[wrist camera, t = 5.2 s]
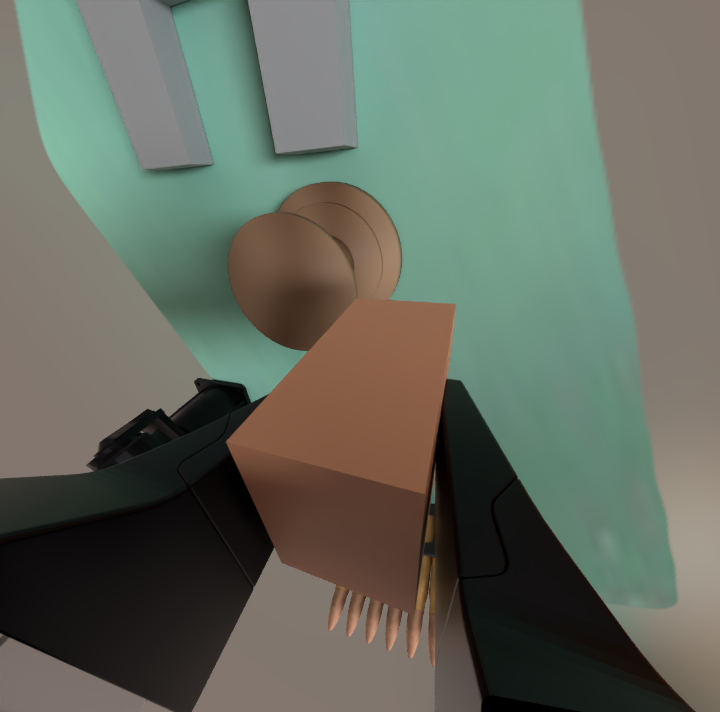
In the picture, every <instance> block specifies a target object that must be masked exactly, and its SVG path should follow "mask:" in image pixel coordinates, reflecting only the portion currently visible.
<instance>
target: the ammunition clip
mask: <svg viewBox="0 0 720 712" xmlns="http://www.w3.org/2000/svg"><path fill="white" fill-rule="evenodd" d="M434 534H435V504H430V510H429V517H428V524H427V531H426V538H425V545H424V552H423V559H422V566H421V573H420V580H419V587H418V594H417V601H416V608H415V615H412V614H409V613H408V618H407V652H408V657H409V658H410V659H411V658H412V657H413V655H414V653H415V650H416V647H417V644H418V641H419V637H420V632H421V627H422V619H423V614H424V608H425V602H426V599H427V595H428V589H429V580H430V589H429V595H430V611H429V616H430V617H429V637H428V638H429V653H430V660H431V664H432V666H433V667H435V535H434ZM431 566H432V568H431ZM430 571H431V578H430ZM348 592H349V589H346V588H344V587H341V586H339V585H336V590H335V593H334V596H333V599H332V604H331V608H330V613H329V621H328V630H329V631H331V630H332V629H333V627H334V626H335V624H336V622H337V621H338V619H339V616H340V614H341V612H342V609H343V607H344V604H345V601H346V598H347V595H348ZM365 598H366V596H364V595H362V594H359V593H356V592H354V591H353V593H352V598H351V601H350V606H349V611H348V617H347V629H346V631H347V637H350V636H351V634H352V633H353V631H354V629H355V627H356V625H357V622H358V620H359V618H360V615H361V612H362V608H363V605H364V601H365ZM383 604H384V603H382V602H379V601H377V600H374V599H372V598H370V603H369V608H368V613H367V620H366V643H367V644H369V643H370V642H371V640H372V639H373V637H374V634H375V632H376V629H377V627H378V624H379V621H380V617H381V613H382V609H383ZM401 616H402V610H399V609H397V608H394V607H392V606H389V607H388V613H387V620H386V648H387V650H388V651H390V649H391V648H392V646H393V644H394V642H395V639H396V636H397V633H398V630H399V626H400V622H401Z"/></svg>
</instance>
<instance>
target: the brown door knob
mask: <svg viewBox="0 0 720 712" xmlns="http://www.w3.org/2000/svg"><path fill="white" fill-rule="evenodd" d="M401 267H402V250H401V244H400V239H399V236H398V233H397V230H396V228H395V225H394V223H393V221H392V219H391V218H390V216H389V214H388V213H387V211H386V210H385V209H384V208H383V206H382V205H381V204H380V203H379V202H378V201H377V200H376V199H375V198H374V197H372V196H371V195H370V194H368V193H367V192H365V191H364V190H362V189H360V188H358V187H356V186H353V185H350V184H347V183H341V182H321V183H315V184H311V185H308V186H305V187H303V188H301V189H299V190H297V191H296V192H294V193H293V194H292V195H291V196H289V197H288V199H287V200H286V201H285V202H284V203H283V204H282V206H281V207H280V209H279V210H278V212H276V213H269V214H264V215H261V216H258V217H255V218H253V219H252V220H250V221H248V222H247V223H246V224H244V225H243V226H242V227H241V228H240V230H239V231H238V232H237V234H236V235H235V237H234V239H233V241H232V244H231V246H230V250H229V255H228V274H229V280H230V284H231V288H232V291H233V294H234V296H235V298H236V300H237V303H238V305H239V306H240V308H241V310H242V311H243V313H244V314H245V316H246V317H247V318H248V319H249V321H250V322H251V323H252V324H253V325H254V326H255V327H256V328H257V329H258V330H259V331H260V332H261V333H263V334H264V335H265V336H266V337H268V338H269V339H271V340H272V341H274V342H276V343H278V344H280V345H282V346H285V347H288V348H291V349H295V350H302V351H309V350H310V349H311V348H312V347H313V346H314V345H315V344H316V342H317V341H318V340H319V339H320V338H321V337H322V336H323V335H324V334H325V333H326V331H327V330H328V329H329V328H330V327H331V326H332V325H333V324H334V323H335V322H336V320H337V319H338V318H339V317H340V316H341V315H342V314H343V313H344V312H345V311H346V310H347V308H348V307H349V306H350V305H351V304H352V303H353V302H354V301H355V300H356V299H357V298H361V299H378V300H389V298H390V297H391V295H392V294H393V292H394V290H395V288H396V286H397V283H398V280H399V278H400V273H401Z"/></svg>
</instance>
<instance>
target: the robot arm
mask: <svg viewBox="0 0 720 712" xmlns="http://www.w3.org/2000/svg"><path fill="white" fill-rule="evenodd" d="M194 383H195V385H196V387H197V390H198V392H199V393H198V394H196V395H195V396H194V397H193V398H192V399H190V400H189V401H188V402H187V403H185V404H184V405H183V406H182V407H181V408H179V409H178V410H177V411H176V412H174V413H173V414H172V415H171V416H169V417H168V416H167V415H166V414H165V413H164V411H163V410H162V409H161V408H160V409H159V410H157V411H156V412H155V411H151V410H149V409H147V410H145V411H144V412H143V413H141V414H140V415H138V416H137V417H136V418H134V419H133V420H132V421H130V422H129V423H128V424H126V425H124V426H123V427H121V428H120V429H119V430H117V431H115V432H114V433H112V434H111V435H109V436H108V437H107V438H105V439H104V440H102V441H101V442H100V443H99V448H98V453H96V454H95V455H94V457H95V458H94V459H93V460H92V461H91V462H90V463H88V464H87V465H86V466H87V467H89V468H90V469H91V470H93V471H94V472H89V473H82V474H72V475H55V476H37V477H20V478H2V479H0V712H141V710H142V708H143V707H144V705H145V703H146V702H147V700H148V701H150V702H153V703H155V704H157V705H160V706H161V707H164V708H166V709H168V710H170V711H172V712H192V710H193V708H194V707H195V705H196V703H197V701H198V699H199V697H200V695H201V693H202V691H203V688H204V687H205V685H206V683H207V680H208V679H209V677H210V675H211V673H212V671H213V669H214V667H215V665H216V663H217V661H218V659H219V657H220V655H221V653H222V651H223V649H224V647H225V645H226V643H227V641H228V639H229V637H230V635H231V633H232V631H233V629H234V627H235V625H236V623H237V621H238V619H239V617H240V615H241V613H242V611H243V609H244V607H245V605H246V603H247V601H248V599H249V597H250V595H251V593H252V591H253V587H254V586H255V585H256V583H257V581H258V579H259V577H260V575H261V573H262V571H263V569H264V567H265V565H266V563H267V561H268V559H269V557H270V555H271V553H272V551H273V549H274V545H273V543H272V541H271V538H270V536H269V534H268V532H267V530H266V528H265V526H264V523H263V521H262V519H261V517H260V515H259V513H258V510H257V508H256V506H255V504H254V502H253V500H252V497H251V495H250V493H249V491H248V489H247V487H246V484H245V482H244V480H243V478H242V476H241V474H240V471H239V469H238V467H237V465H236V463H235V461H234V459H233V456H232V454H231V452H230V450H229V448H228V446H227V443H226V441H227V440H228V439H229V438H230V437H231V436H232V434H233V433H234V432H235V431H236V430H237V429H238V428H239V427H240V426H241V425H242V424H243V422H244V421H245V420H246V419H247V418H248V417H249V416H250V415H251V414H252V413H253V411H254V410H255V409H256V408H257V407H258V406H259V405H260V404H261V403H262V402H263V401H264V399H265V398H266V397H267V396H268V395H269V394H268V395H266V396H264V397H262V398H260V399H258V400H256V401H254V402H252V403H251V402H250V399H249V397H248V394H247V391H246V388H245V387H244V386H242V385H238V384H232V383H226V382H220V381H214V380H207V379H202V378H198V379H196V380H195V381H194ZM141 431H143V432H144V433H141ZM435 667H436V668H435V712H695V711H694V710H693V709H692V708H691V707H690V706H689V705H688V704H687V703H686V702H685V701H684V700H683V699H682V698H681V697H680V696H679V695H678V694H677V693H676V692H675V691H674V690H673V689H672V687H671V686H670V685H669V684H668V683H667V682H666V681H665V680H664V679H663V678H662V677H661V676H660V674H659V673H658V672H657V671H656V670H655V669H654V667H653V666H652V665H651V664H650V663H649V661H648V660H647V659H646V658H645V657H644V655H643V654H642V653H641V652H640V651H639V649H638V648H637V647H636V645H635V644H634V643H633V641H632V640H631V639H630V637H629V636H628V635H627V633H626V632H625V631H624V629H623V628H622V626H621V625H620V624H619V622H618V621H617V620H616V618H615V617H614V616H613V614H612V613H611V611H610V610H609V609H608V607H607V606H606V605H605V603H604V602H603V601H602V599H601V598H600V596H599V595H598V594H597V592H596V591H595V590H594V588H593V587H592V585H591V584H590V583H589V581H588V580H587V579H586V577H585V576H584V575H583V573H582V572H581V570H580V569H579V568H578V566H577V565H576V564H575V562H574V561H573V560H572V558H571V557H570V555H569V554H568V553H567V551H566V550H565V549H564V547H563V546H562V544H561V543H560V542H559V540H558V539H557V537H556V536H555V534H554V533H553V532H552V530H551V529H550V527H549V526H548V524H547V523H546V522H545V520H544V519H543V517H542V515H541V514H540V512H539V511H538V509H537V507H536V506H535V504H534V503H533V501H532V500H531V498H530V496H529V495H528V493H527V491H526V490H525V488H524V486H523V484H522V483H521V481H520V480H519V479H518V476H517V474H516V473H515V471H514V469H513V468H512V466H511V464H510V463H509V461H508V459H507V457H506V456H505V454H504V452H503V451H502V449H501V447H500V446H499V444H498V442H497V441H496V439H495V437H494V435H493V434H492V432H491V430H490V429H489V427H488V425H487V424H486V422H485V420H484V418H483V417H482V415H481V413H480V412H479V410H478V408H477V407H476V405H475V403H474V401H473V400H472V398H471V396H470V395H469V393H468V391H467V390H466V388H465V386H464V384H463V383H462V381H460V380H453V379H446V383H445V389H444V395H443V401H442V407H441V416H440V425H439V435H438V444H437V453H436V467H435Z"/></svg>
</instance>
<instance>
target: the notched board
mask: <svg viewBox="0 0 720 712" xmlns="http://www.w3.org/2000/svg"><path fill="white" fill-rule="evenodd" d="M185 1H188V0H76V2H77V4H78V7H79V9H80V12H81V14H82V17H83V20H84V22H85V25H86V27H87V30H88V32H89V35H90V37H91V40H92V43H93V45H94V48H95V50H96V53H97V55H98V58H99V60H100V63H101V66H102V68H103V71H104V73H105V76H106V78H107V81H108V83H109V86H110V88H111V91H112V94H113V96H114V99H115V101H116V104H117V106H118V109H119V111H120V114H121V117H122V119H123V122H124V124H125V127H126V129H127V132H128V134H129V137H130V140H131V142H132V145H133V147H134V150H135V152H136V155H137V157H138V160H139V163H140V165H141V168H142V170H172V169H180V168H189V167H197V166H206V165H214V163H213V159H212V156H211V152H210V148H209V145H208V141H207V138H206V134H205V131H204V127H203V123H202V120H201V116H200V113H199V109H198V106H197V102H196V98H195V95H194V91H193V88H192V84H191V81H190V77H189V73H188V70H187V66H186V63H185V59H184V56H183V52H182V48H181V45H180V41H179V38H178V34H177V31H176V27H175V23H174V20H173V16H172V13H171V9H170V6H173V5H176V4H179V3H182V2H185ZM248 4H249V9H250V15H251V20H252V25H253V31H254V36H255V42H256V47H257V53H258V58H259V64H260V69H261V75H262V80H263V85H264V91H265V96H266V102H267V107H268V113H269V118H270V124H271V129H272V135H273V140H274V145H275V151H276V154H288V155H299V154H307V153H316V152H324V151H333V150H341V149H350V148H358V142H357V126H356V110H355V93H354V77H353V60H352V44H351V27H350V11H349V0H248Z"/></svg>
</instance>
